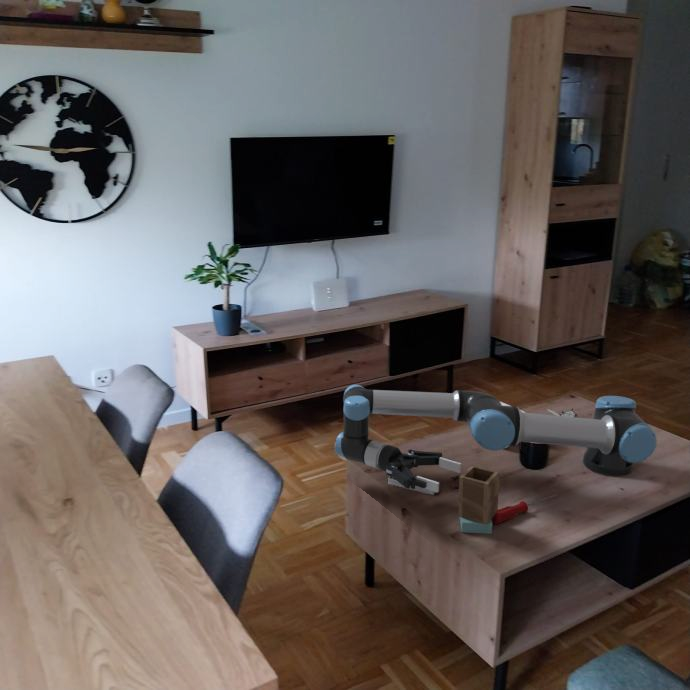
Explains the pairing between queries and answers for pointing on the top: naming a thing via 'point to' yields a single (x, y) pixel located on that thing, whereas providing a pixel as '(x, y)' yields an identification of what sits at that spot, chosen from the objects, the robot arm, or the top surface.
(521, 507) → the screwdriver
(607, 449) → the robot arm
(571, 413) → the game die
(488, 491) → the brown tall open box
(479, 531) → the post stand
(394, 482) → the multiport hub
